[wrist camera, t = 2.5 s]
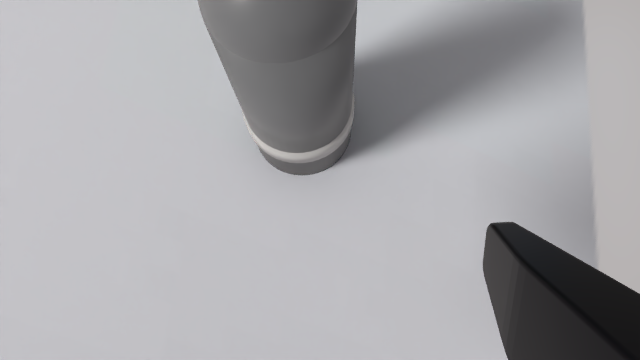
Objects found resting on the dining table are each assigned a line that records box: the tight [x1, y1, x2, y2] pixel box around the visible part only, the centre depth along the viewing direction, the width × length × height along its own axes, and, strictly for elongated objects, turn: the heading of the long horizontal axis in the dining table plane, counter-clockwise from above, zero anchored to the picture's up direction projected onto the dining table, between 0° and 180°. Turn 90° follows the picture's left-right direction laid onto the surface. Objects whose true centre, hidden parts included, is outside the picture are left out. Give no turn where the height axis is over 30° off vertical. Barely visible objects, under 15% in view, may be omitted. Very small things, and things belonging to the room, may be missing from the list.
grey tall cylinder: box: [198, 0, 357, 175], centre depth 19 cm, size 5×5×12 cm
